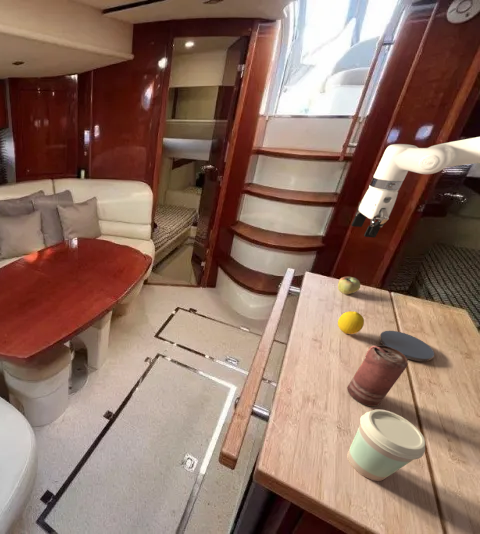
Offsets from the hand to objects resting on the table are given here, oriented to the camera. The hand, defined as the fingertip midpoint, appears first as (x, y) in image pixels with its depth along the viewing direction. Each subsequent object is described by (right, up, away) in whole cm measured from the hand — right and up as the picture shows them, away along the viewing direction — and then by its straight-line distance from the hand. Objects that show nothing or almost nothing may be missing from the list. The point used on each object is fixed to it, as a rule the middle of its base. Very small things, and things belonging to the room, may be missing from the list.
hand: (362, 231), depth 110 cm
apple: (-6, -22, 0) cm, 23 cm away
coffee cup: (-46, -52, -50) cm, 86 cm away
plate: (-11, -36, -24) cm, 45 cm away
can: (-35, -44, -37) cm, 67 cm away
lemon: (-23, -33, -18) cm, 44 cm away
